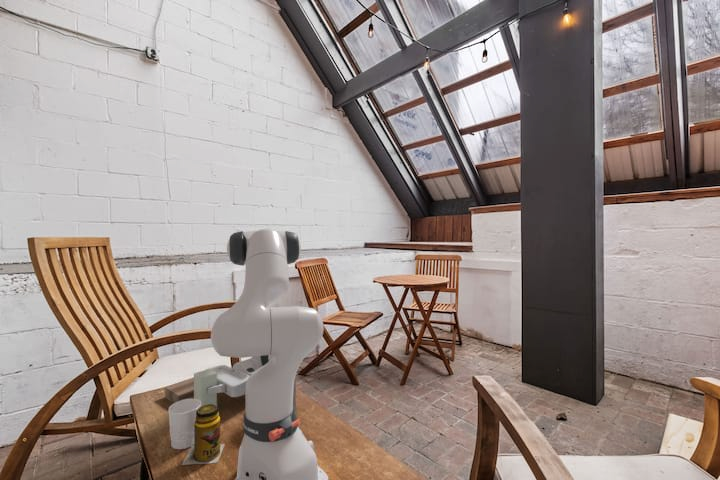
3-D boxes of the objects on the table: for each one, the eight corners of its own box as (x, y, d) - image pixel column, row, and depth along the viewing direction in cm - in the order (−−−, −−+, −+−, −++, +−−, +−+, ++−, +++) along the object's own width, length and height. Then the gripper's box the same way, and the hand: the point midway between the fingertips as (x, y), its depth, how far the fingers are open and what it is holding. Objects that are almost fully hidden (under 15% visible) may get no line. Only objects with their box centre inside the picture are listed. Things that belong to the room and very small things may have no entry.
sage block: (216, 410, 109) (216, 373, 109) (201, 416, 105) (201, 378, 105) (209, 404, 112) (209, 368, 112) (194, 410, 108) (193, 373, 108)
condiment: (217, 463, 84) (217, 415, 84) (181, 465, 83) (180, 417, 83) (225, 444, 92) (225, 400, 91) (191, 447, 90) (191, 402, 90)
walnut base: (208, 396, 119) (208, 384, 119) (178, 407, 111) (178, 395, 111) (194, 388, 125) (194, 377, 125) (165, 398, 117) (165, 386, 117)
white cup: (163, 444, 91) (162, 407, 91) (191, 430, 98) (191, 395, 98) (178, 455, 87) (178, 416, 87) (207, 439, 93) (207, 403, 93)
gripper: (227, 358, 125) (188, 369, 114) (258, 373, 112) (218, 387, 101) (227, 375, 125) (188, 387, 115) (258, 392, 112) (218, 408, 101)
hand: (202, 388), depth 108 cm, fingers closed on sage block, 5 cm apart
